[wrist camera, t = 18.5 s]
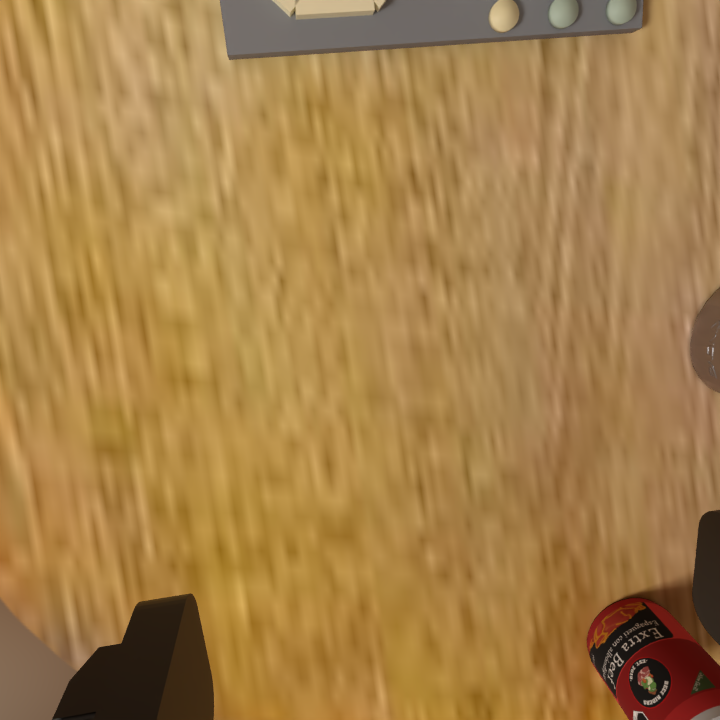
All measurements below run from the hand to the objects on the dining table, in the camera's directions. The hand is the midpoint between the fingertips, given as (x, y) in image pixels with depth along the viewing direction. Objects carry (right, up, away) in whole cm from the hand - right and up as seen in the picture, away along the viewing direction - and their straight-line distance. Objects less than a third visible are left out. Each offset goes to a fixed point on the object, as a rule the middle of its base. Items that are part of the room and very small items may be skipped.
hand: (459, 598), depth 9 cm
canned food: (+21, -19, +38) cm, 47 cm away
